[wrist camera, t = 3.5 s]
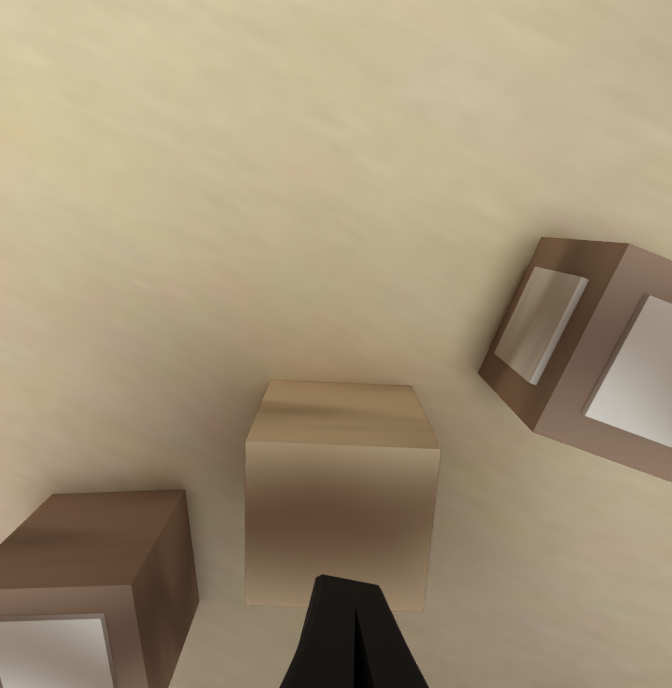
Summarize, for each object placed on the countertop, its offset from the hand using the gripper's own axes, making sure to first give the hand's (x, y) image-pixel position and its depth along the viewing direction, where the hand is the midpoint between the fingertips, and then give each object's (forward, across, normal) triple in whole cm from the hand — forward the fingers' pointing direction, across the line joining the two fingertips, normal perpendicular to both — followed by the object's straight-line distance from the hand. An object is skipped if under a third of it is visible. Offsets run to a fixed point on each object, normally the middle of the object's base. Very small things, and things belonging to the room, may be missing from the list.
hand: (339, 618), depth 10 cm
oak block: (+8, 0, 0) cm, 8 cm away
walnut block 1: (+8, +7, +6) cm, 12 cm away
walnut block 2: (+8, -7, -6) cm, 12 cm away
